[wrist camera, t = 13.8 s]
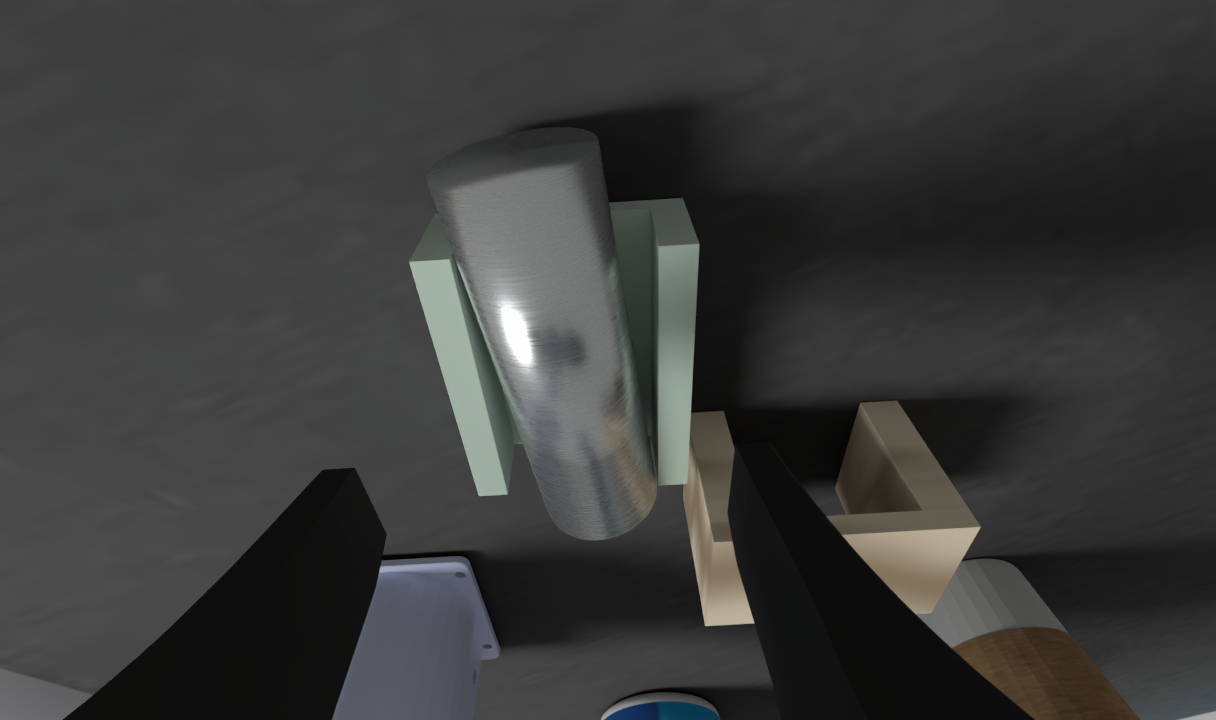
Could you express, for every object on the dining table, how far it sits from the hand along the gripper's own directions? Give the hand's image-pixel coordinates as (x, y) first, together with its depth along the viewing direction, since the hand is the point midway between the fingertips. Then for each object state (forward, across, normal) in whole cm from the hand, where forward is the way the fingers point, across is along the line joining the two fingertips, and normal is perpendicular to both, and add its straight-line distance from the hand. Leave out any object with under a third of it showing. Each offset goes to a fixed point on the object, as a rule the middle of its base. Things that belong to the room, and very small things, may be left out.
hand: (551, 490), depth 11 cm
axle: (+8, -1, +1) cm, 8 cm away
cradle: (+8, 0, +2) cm, 9 cm away
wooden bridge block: (+8, -8, +9) cm, 15 cm away
